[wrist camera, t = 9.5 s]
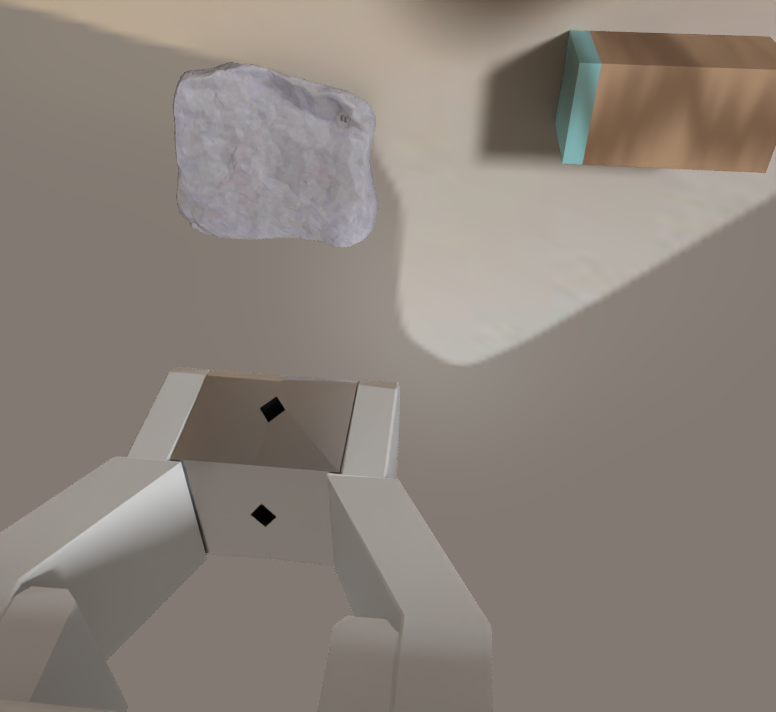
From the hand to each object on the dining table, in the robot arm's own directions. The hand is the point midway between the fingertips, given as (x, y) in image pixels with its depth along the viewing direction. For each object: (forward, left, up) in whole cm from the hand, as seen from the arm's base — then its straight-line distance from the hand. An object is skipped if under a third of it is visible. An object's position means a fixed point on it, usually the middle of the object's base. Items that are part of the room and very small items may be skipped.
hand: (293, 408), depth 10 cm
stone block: (+11, -8, -34) cm, 36 cm away
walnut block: (+7, +7, -31) cm, 32 cm away
